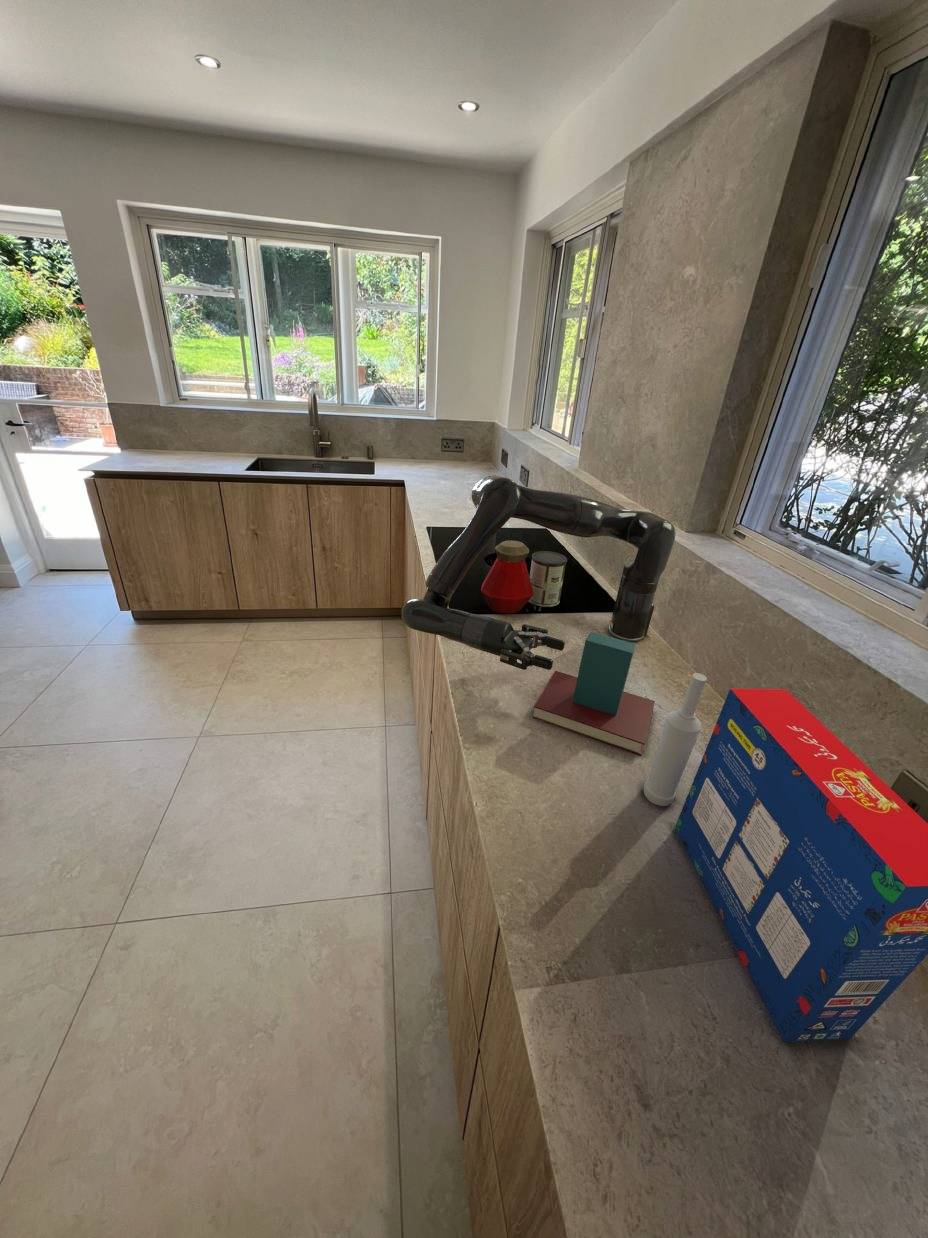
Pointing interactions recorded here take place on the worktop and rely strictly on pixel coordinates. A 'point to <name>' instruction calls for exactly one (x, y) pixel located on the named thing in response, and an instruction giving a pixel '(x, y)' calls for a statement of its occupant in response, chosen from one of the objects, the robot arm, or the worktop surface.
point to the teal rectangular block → (603, 672)
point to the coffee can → (547, 578)
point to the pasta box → (806, 865)
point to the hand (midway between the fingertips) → (558, 655)
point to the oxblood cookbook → (595, 715)
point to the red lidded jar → (508, 579)
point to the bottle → (675, 746)
